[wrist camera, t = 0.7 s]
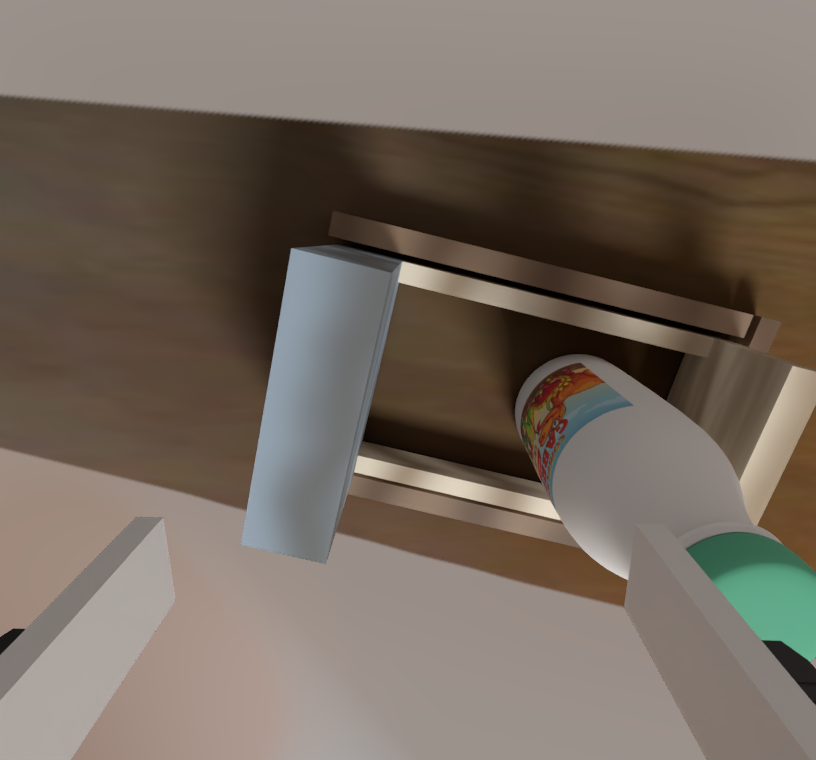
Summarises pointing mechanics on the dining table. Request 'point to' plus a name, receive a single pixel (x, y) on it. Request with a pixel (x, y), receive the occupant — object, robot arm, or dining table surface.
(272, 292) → the dining table surface
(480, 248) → the dark wooden tray
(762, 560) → the milk bottle
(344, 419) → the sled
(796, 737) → the robot arm
